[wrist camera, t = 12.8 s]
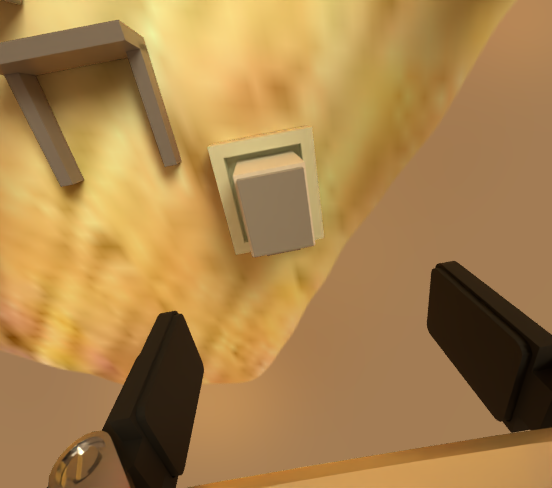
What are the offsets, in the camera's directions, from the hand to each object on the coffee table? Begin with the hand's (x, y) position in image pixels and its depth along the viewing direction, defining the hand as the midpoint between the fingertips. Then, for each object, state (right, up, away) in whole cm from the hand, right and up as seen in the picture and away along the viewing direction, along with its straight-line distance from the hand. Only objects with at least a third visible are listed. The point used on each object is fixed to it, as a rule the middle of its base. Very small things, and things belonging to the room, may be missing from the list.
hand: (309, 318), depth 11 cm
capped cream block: (-2, +9, +19) cm, 21 cm away
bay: (-17, +15, +16) cm, 28 cm away
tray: (-2, +9, +20) cm, 22 cm away
